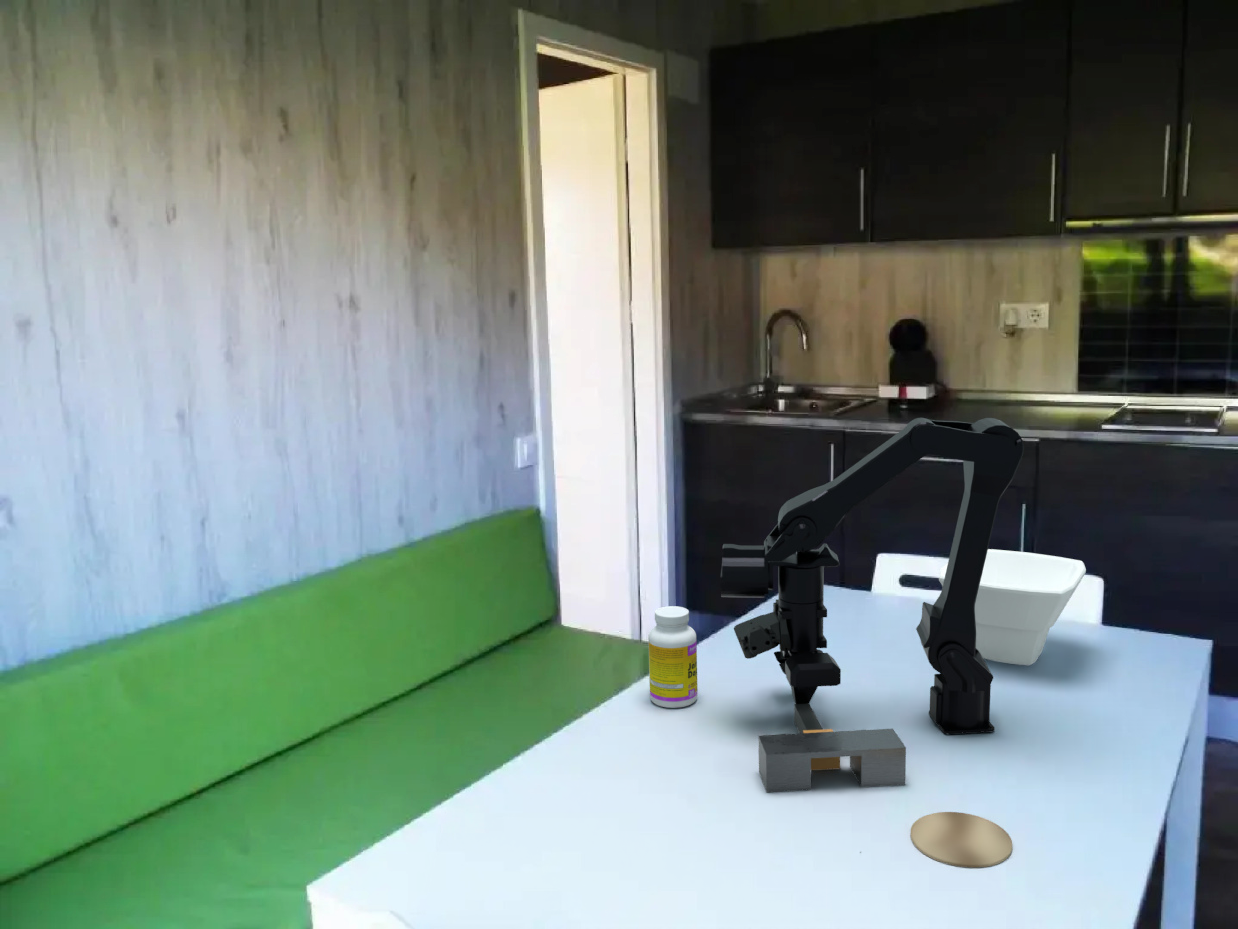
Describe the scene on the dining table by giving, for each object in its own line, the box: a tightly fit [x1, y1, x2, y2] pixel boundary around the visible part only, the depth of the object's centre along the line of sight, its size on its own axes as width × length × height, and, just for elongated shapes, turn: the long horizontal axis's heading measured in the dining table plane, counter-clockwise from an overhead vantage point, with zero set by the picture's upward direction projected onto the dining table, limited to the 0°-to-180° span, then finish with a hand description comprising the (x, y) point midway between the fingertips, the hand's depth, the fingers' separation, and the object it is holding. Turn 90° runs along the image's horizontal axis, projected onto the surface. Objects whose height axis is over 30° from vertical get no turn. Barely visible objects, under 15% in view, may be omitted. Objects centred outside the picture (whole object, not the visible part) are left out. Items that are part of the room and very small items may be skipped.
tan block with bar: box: [793, 703, 841, 771], centre depth 131 cm, size 4×13×3 cm, turn 2°
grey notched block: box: [758, 728, 907, 793], centre depth 122 cm, size 16×5×5 cm, turn 92°
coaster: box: [909, 811, 1013, 869], centre depth 109 cm, size 10×10×1 cm
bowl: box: [938, 548, 1087, 666], centre depth 156 cm, size 19×19×14 cm
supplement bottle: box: [647, 605, 698, 709], centre depth 145 cm, size 7×7×13 cm
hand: (800, 710), depth 138 cm, fingers closed
